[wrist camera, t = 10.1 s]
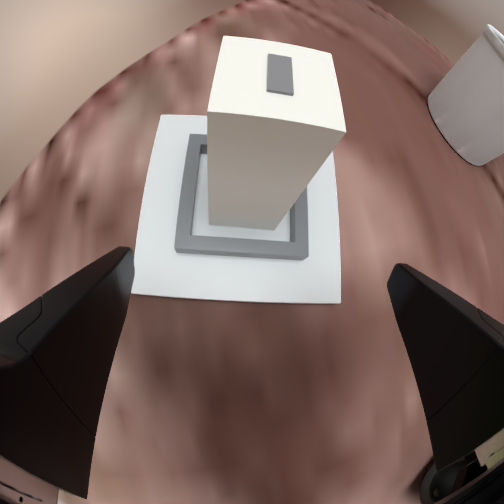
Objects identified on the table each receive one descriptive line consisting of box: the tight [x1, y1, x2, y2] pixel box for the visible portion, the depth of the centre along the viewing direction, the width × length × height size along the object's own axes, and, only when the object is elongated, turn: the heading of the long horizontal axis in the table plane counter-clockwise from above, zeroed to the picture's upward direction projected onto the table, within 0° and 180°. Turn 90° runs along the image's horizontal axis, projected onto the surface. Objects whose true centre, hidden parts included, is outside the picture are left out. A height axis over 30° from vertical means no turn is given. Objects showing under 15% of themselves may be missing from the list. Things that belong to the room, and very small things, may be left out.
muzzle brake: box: [420, 451, 478, 504], centre depth 15 cm, size 10×28×10 cm, turn 47°
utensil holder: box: [428, 24, 504, 166], centre depth 23 cm, size 15×15×18 cm
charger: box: [207, 36, 346, 231], centre depth 16 cm, size 5×5×13 cm
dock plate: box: [131, 115, 341, 304], centre depth 22 cm, size 16×16×3 cm
